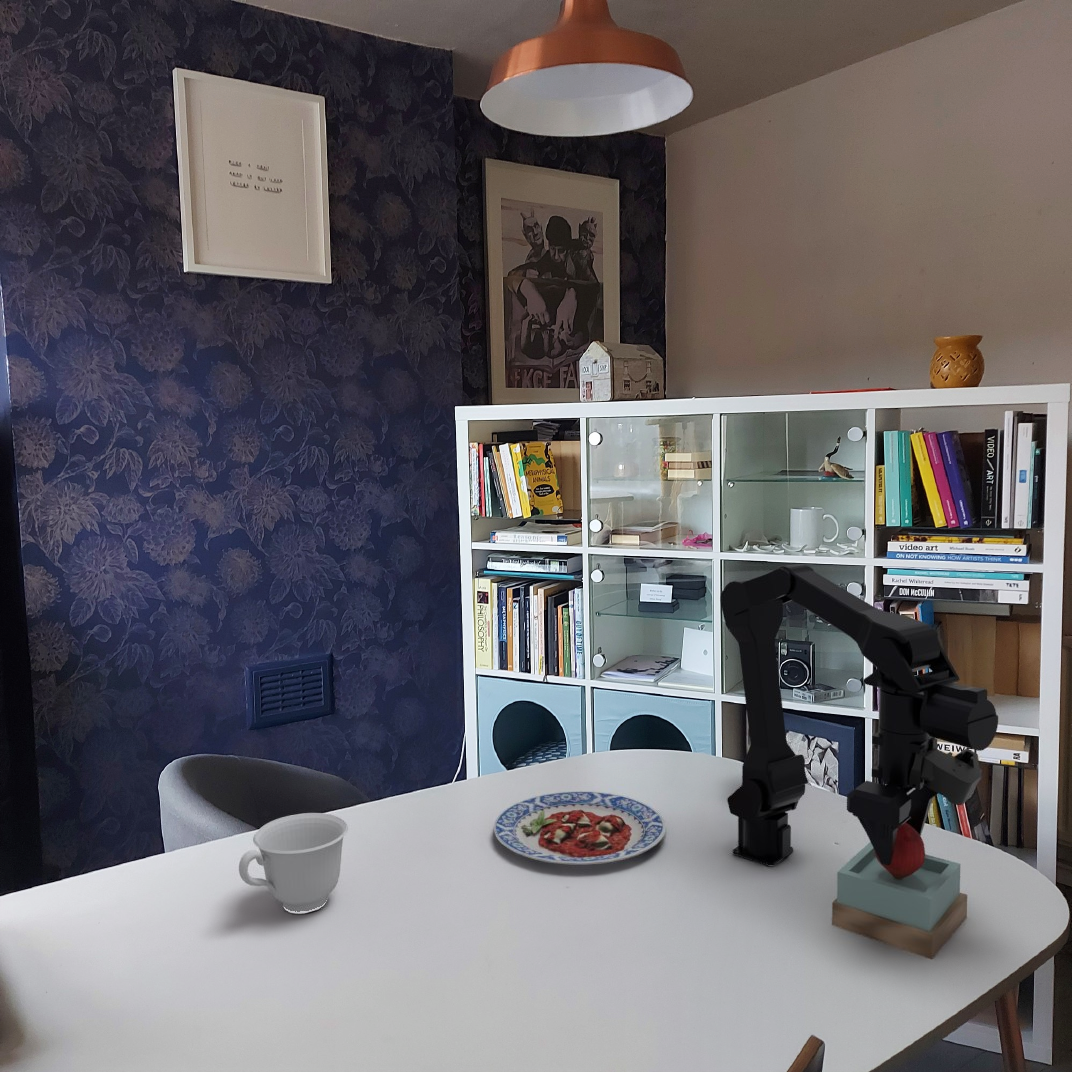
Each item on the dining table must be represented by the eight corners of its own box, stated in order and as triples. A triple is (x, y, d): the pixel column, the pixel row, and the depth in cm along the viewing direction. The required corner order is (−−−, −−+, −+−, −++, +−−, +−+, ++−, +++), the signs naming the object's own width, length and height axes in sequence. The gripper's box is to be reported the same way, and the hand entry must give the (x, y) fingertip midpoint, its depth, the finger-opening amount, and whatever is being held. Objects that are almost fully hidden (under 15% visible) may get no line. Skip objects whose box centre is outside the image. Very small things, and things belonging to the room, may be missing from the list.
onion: (923, 870, 119) (924, 809, 118) (925, 892, 114) (927, 827, 113) (873, 864, 121) (874, 804, 120) (873, 885, 116) (874, 822, 115)
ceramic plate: (693, 823, 148) (693, 805, 148) (616, 894, 127) (616, 873, 126) (551, 793, 162) (550, 776, 162) (459, 852, 140) (459, 832, 140)
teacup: (219, 915, 124) (214, 841, 122) (317, 873, 134) (313, 805, 133) (270, 948, 115) (265, 869, 114) (370, 901, 126) (366, 828, 125)
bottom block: (831, 929, 118) (832, 902, 117) (871, 891, 127) (872, 866, 126) (931, 964, 110) (932, 935, 109) (966, 921, 119) (967, 894, 118)
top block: (837, 902, 117) (837, 871, 117) (871, 869, 125) (872, 840, 125) (929, 932, 110) (930, 899, 109) (959, 894, 118) (960, 863, 118)
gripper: (945, 764, 103) (941, 901, 105) (999, 720, 117) (995, 843, 119) (845, 742, 110) (843, 871, 112) (907, 704, 124) (905, 819, 126)
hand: (900, 850), depth 117 cm, fingers open, 9 cm apart
